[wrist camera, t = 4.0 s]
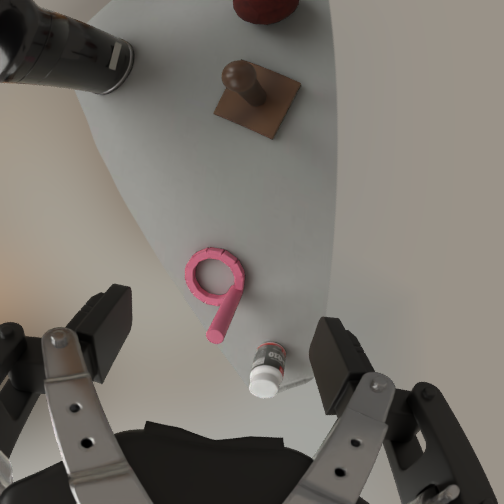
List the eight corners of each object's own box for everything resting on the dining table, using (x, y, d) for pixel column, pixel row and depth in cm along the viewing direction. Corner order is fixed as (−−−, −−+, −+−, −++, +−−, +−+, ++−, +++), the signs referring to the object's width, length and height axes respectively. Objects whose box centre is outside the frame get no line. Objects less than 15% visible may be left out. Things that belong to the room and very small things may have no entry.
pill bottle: (292, 354, 43) (288, 392, 35) (269, 367, 44) (263, 404, 36) (272, 335, 42) (265, 373, 34) (250, 350, 44) (239, 386, 36)
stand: (215, 114, 32) (174, 98, 21) (242, 61, 30) (214, 22, 18) (272, 139, 33) (258, 132, 21) (301, 85, 30) (301, 50, 18)
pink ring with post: (178, 278, 41) (142, 317, 31) (206, 235, 38) (173, 267, 28) (226, 313, 42) (203, 361, 31) (259, 274, 39) (243, 318, 28)
